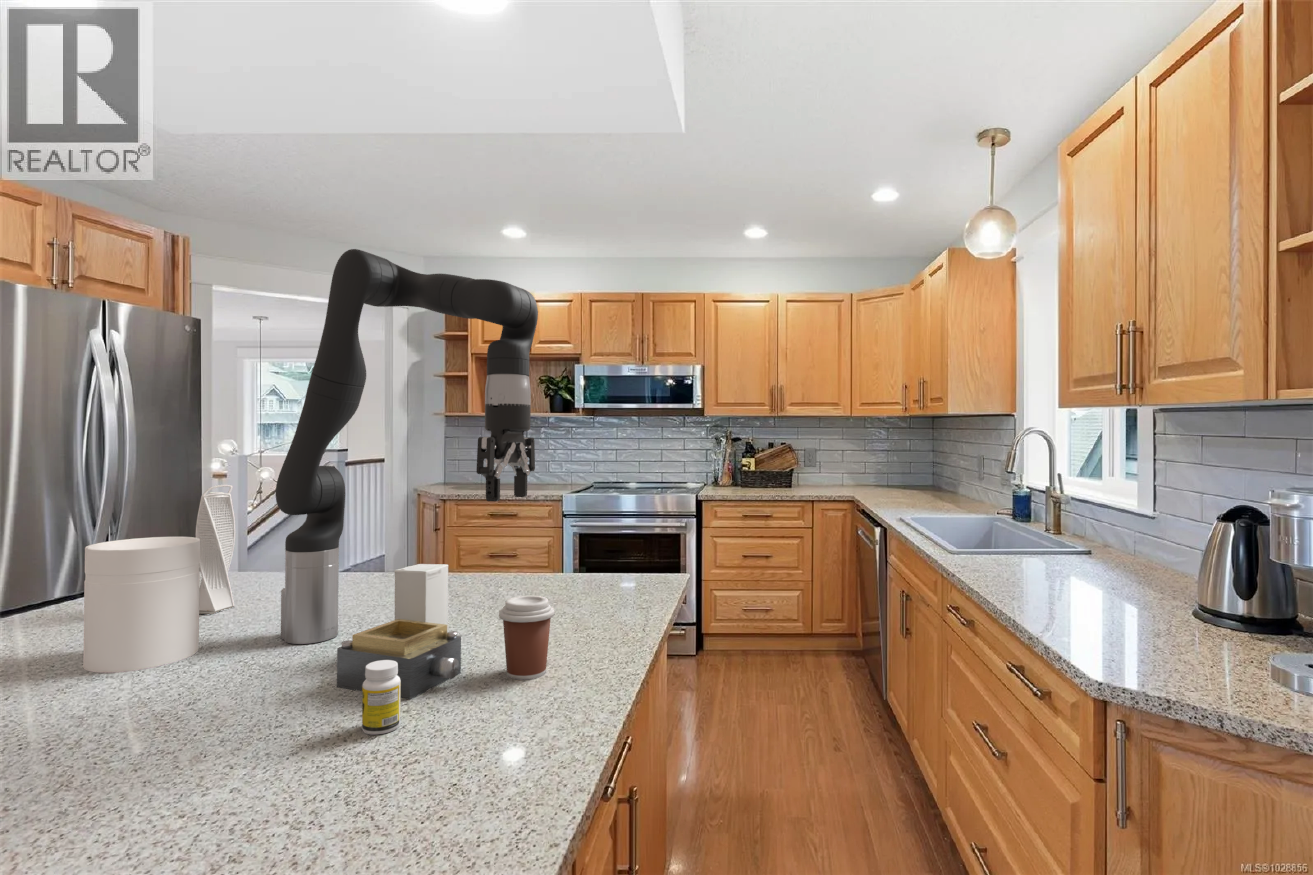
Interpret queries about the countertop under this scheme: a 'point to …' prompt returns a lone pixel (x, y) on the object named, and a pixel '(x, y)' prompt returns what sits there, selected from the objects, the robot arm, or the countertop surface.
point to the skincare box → (422, 593)
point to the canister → (140, 603)
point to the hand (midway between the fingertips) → (507, 499)
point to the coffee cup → (526, 635)
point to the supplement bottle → (381, 697)
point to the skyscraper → (215, 550)
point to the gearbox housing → (402, 655)
